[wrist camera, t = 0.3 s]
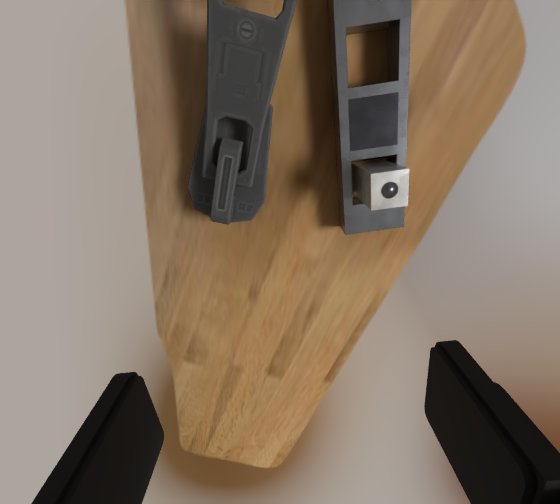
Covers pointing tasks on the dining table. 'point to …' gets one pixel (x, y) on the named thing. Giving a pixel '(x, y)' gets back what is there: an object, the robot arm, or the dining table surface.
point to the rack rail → (369, 104)
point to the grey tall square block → (380, 183)
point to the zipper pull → (237, 110)
